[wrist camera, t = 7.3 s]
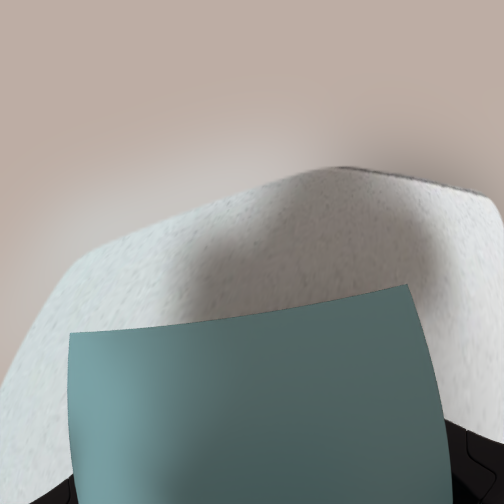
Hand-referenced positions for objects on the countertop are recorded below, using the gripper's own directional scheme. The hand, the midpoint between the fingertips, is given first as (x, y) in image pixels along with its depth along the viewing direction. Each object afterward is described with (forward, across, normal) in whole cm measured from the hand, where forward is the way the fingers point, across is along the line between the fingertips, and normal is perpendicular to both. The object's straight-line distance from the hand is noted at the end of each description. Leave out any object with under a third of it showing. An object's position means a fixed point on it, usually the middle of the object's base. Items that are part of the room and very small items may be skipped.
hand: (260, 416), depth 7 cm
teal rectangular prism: (+4, 0, +6) cm, 7 cm away
